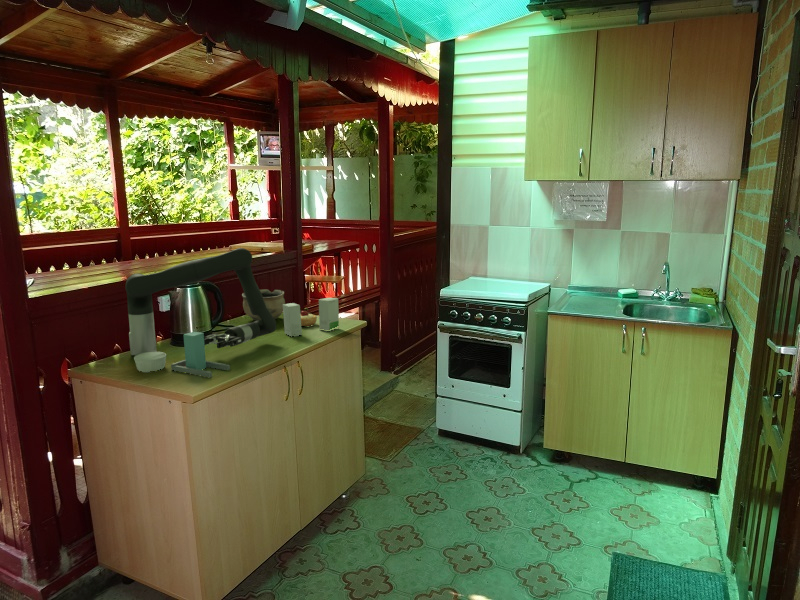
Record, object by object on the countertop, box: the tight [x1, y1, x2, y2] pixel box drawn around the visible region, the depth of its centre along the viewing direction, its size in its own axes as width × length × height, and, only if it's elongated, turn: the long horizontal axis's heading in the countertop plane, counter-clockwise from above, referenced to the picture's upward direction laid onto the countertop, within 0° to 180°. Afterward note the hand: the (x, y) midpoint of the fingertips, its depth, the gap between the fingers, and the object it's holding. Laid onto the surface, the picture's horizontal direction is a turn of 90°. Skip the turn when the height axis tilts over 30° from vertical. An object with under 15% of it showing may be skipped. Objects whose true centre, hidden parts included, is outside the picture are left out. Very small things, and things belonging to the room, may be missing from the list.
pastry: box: [300, 307, 318, 327], centre depth 269 cm, size 12×12×9 cm
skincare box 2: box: [318, 297, 340, 330], centre depth 260 cm, size 8×7×16 cm
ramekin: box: [133, 351, 167, 373], centre depth 200 cm, size 11×11×5 cm
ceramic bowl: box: [241, 289, 286, 321], centre depth 279 cm, size 22×22×15 cm
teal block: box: [183, 331, 207, 370], centre depth 199 cm, size 5×5×14 cm
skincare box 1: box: [282, 302, 303, 338], centre depth 250 cm, size 8×6×15 cm
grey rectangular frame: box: [170, 359, 231, 379], centre depth 199 cm, size 19×10×2 cm, turn 64°
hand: (209, 344), depth 205 cm, fingers open, 8 cm apart
